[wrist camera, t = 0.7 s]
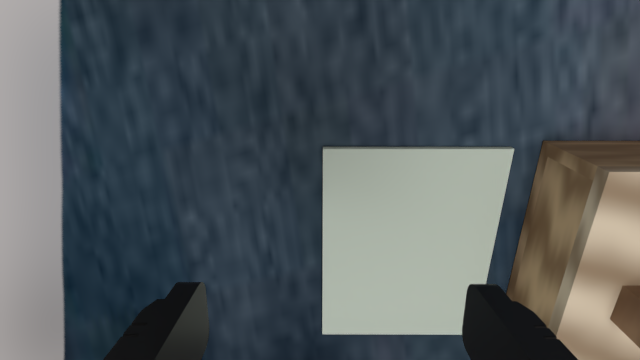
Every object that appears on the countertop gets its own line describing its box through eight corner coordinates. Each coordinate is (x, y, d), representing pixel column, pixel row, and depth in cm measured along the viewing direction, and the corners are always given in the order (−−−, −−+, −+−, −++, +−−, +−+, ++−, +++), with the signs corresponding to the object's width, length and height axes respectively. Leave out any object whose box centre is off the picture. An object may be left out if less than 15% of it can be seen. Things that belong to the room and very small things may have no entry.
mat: (322, 146, 29) (322, 148, 28) (510, 146, 28) (514, 149, 28) (322, 329, 36) (322, 334, 35) (472, 329, 36) (474, 334, 35)
